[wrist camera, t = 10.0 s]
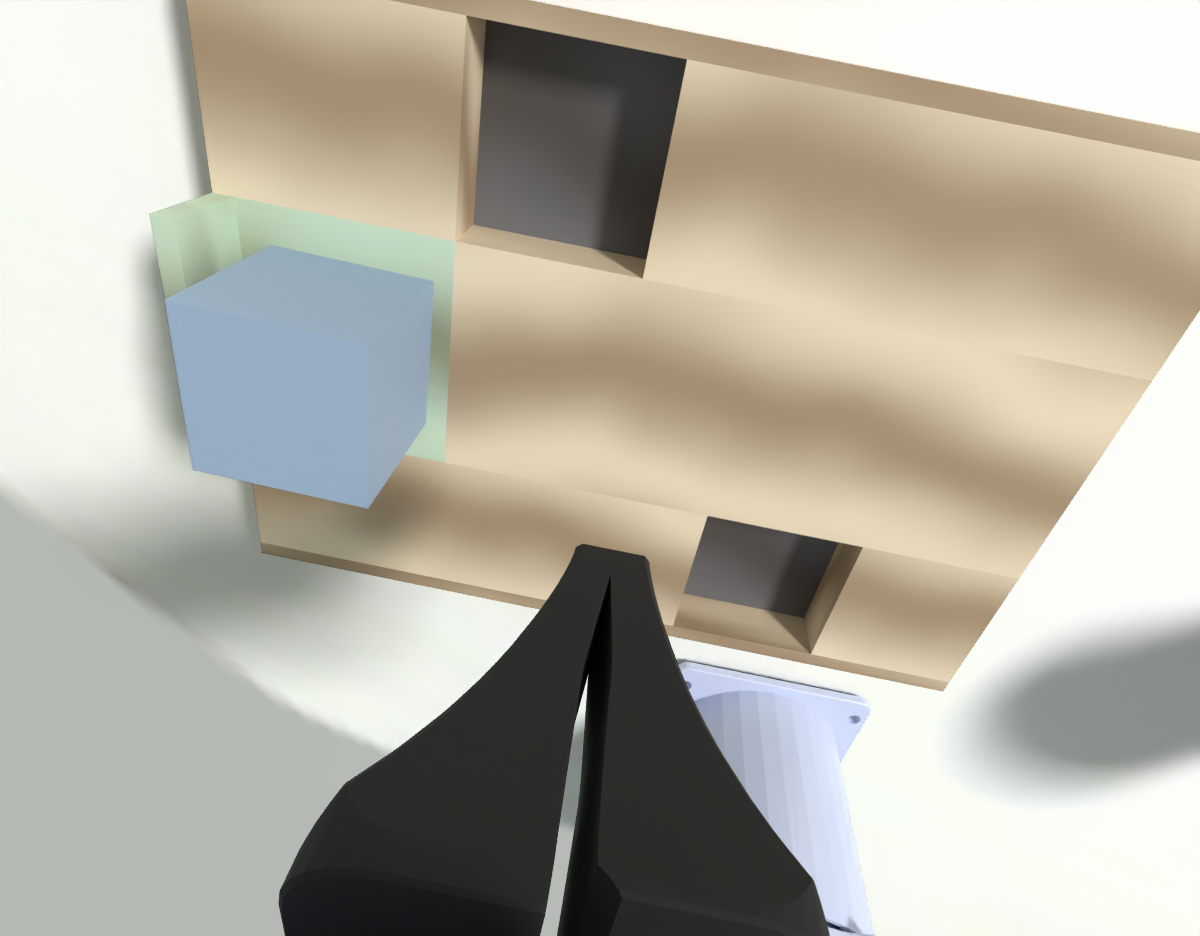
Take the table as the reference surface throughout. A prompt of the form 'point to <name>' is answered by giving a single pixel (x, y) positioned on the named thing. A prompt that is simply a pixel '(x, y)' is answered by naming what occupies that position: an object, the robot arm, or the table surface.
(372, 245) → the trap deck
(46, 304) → the table surface
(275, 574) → the table surface
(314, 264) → the block
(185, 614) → the table surface
